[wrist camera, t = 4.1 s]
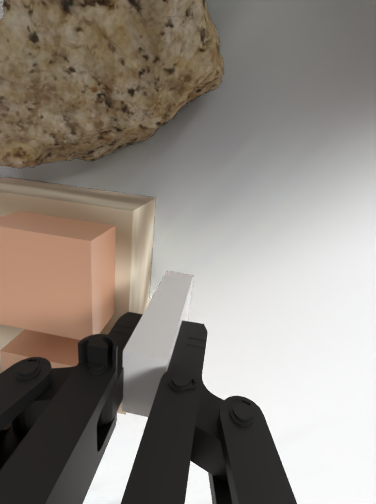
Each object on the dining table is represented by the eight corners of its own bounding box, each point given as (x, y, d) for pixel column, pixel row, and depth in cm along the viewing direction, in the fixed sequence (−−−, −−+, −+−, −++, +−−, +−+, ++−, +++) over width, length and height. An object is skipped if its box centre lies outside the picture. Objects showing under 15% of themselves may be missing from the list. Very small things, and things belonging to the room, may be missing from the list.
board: (6, 177, 21) (-57, 183, 17) (155, 197, 20) (132, 211, 15) (27, 343, 27) (-16, 382, 22) (144, 367, 26) (125, 414, 21)
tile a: (20, 211, 16) (-23, 223, 14) (115, 225, 16) (90, 240, 13) (30, 297, 19) (-6, 323, 16) (114, 313, 18) (92, 342, 15)
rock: (275, 114, 12) (102, -335, 5) (78, 236, 16) (-148, 84, 10) (230, 45, 19) (132, -182, 12) (101, 144, 24) (-22, 20, 17)
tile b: (33, 322, 19) (-1, 350, 16) (114, 338, 19) (93, 370, 16) (40, 386, 21) (11, 421, 19) (113, 402, 21) (94, 440, 18)
